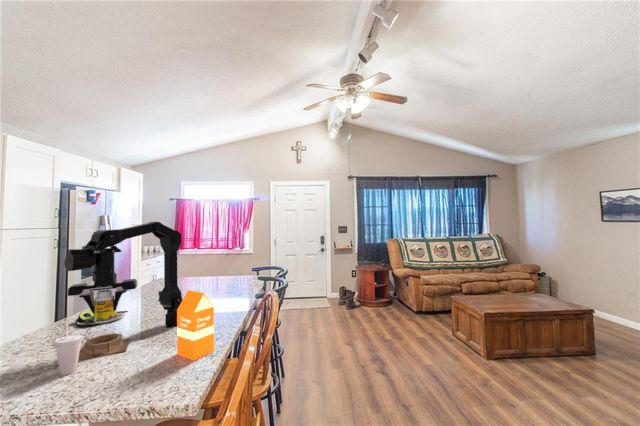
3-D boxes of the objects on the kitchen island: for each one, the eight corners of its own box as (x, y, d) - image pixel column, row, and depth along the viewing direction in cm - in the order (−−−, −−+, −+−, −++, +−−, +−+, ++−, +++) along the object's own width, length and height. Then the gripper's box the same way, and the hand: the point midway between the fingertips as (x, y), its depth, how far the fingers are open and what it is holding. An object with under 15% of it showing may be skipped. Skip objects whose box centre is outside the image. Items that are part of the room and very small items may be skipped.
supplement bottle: (93, 325, 98) (93, 294, 98) (95, 320, 102) (94, 290, 103) (114, 321, 101) (114, 291, 101) (114, 317, 105) (114, 288, 106)
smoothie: (65, 367, 89) (65, 320, 89) (88, 365, 90) (88, 319, 90) (47, 378, 83) (48, 327, 83) (72, 376, 83) (72, 326, 84)
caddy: (130, 339, 110) (130, 329, 110) (125, 351, 99) (125, 341, 99) (83, 347, 104) (83, 336, 104) (72, 361, 93) (72, 349, 93)
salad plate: (124, 311, 147) (124, 301, 147) (132, 319, 134) (132, 309, 135) (74, 320, 134) (74, 310, 134) (78, 330, 121) (78, 319, 121)
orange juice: (193, 360, 92) (193, 295, 92) (176, 354, 96) (176, 292, 97) (214, 350, 98) (214, 290, 99) (197, 345, 103) (197, 287, 104)
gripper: (138, 261, 113) (138, 302, 113) (77, 265, 105) (77, 310, 105) (135, 265, 103) (135, 310, 103) (67, 270, 95) (67, 319, 95)
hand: (104, 312), depth 102 cm, fingers closed on supplement bottle, 6 cm apart
